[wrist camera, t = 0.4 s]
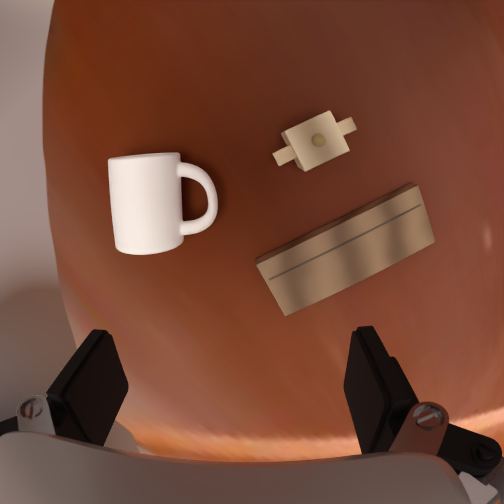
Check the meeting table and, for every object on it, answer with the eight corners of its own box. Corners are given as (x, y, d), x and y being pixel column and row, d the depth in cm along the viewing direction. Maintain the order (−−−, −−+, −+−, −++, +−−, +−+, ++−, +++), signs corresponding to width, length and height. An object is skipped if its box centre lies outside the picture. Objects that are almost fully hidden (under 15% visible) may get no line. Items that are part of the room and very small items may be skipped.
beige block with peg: (333, 108, 32) (349, 101, 26) (350, 142, 34) (369, 142, 27) (264, 140, 34) (265, 140, 28) (282, 174, 35) (287, 181, 29)
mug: (131, 232, 38) (104, 254, 31) (125, 155, 35) (94, 160, 27) (222, 233, 38) (213, 257, 30) (221, 150, 34) (211, 153, 27)
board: (410, 182, 35) (418, 185, 33) (427, 237, 37) (435, 241, 35) (256, 258, 39) (256, 265, 37) (284, 308, 41) (285, 316, 39)
